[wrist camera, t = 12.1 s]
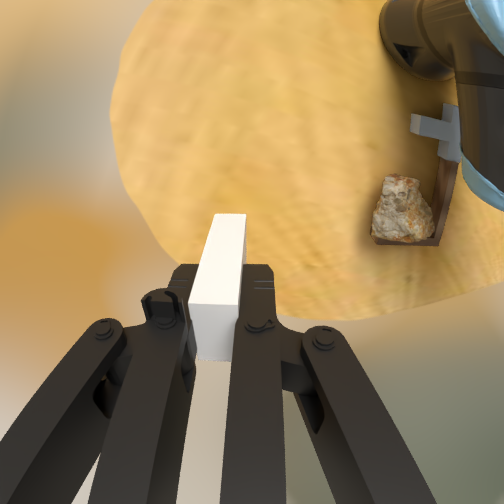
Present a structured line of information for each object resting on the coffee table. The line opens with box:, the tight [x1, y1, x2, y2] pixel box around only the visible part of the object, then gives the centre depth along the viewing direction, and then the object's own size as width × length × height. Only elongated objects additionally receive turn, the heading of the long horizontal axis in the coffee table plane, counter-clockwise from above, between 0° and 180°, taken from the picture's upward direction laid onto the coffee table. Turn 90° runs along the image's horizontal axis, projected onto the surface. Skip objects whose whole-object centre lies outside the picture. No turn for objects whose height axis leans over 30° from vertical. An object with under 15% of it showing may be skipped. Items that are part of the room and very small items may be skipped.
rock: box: [371, 174, 435, 243], centre depth 40 cm, size 12×10×10 cm
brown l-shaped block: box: [370, 157, 459, 246], centre depth 42 cm, size 15×12×4 cm
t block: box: [410, 103, 461, 163], centre depth 36 cm, size 9×9×3 cm
